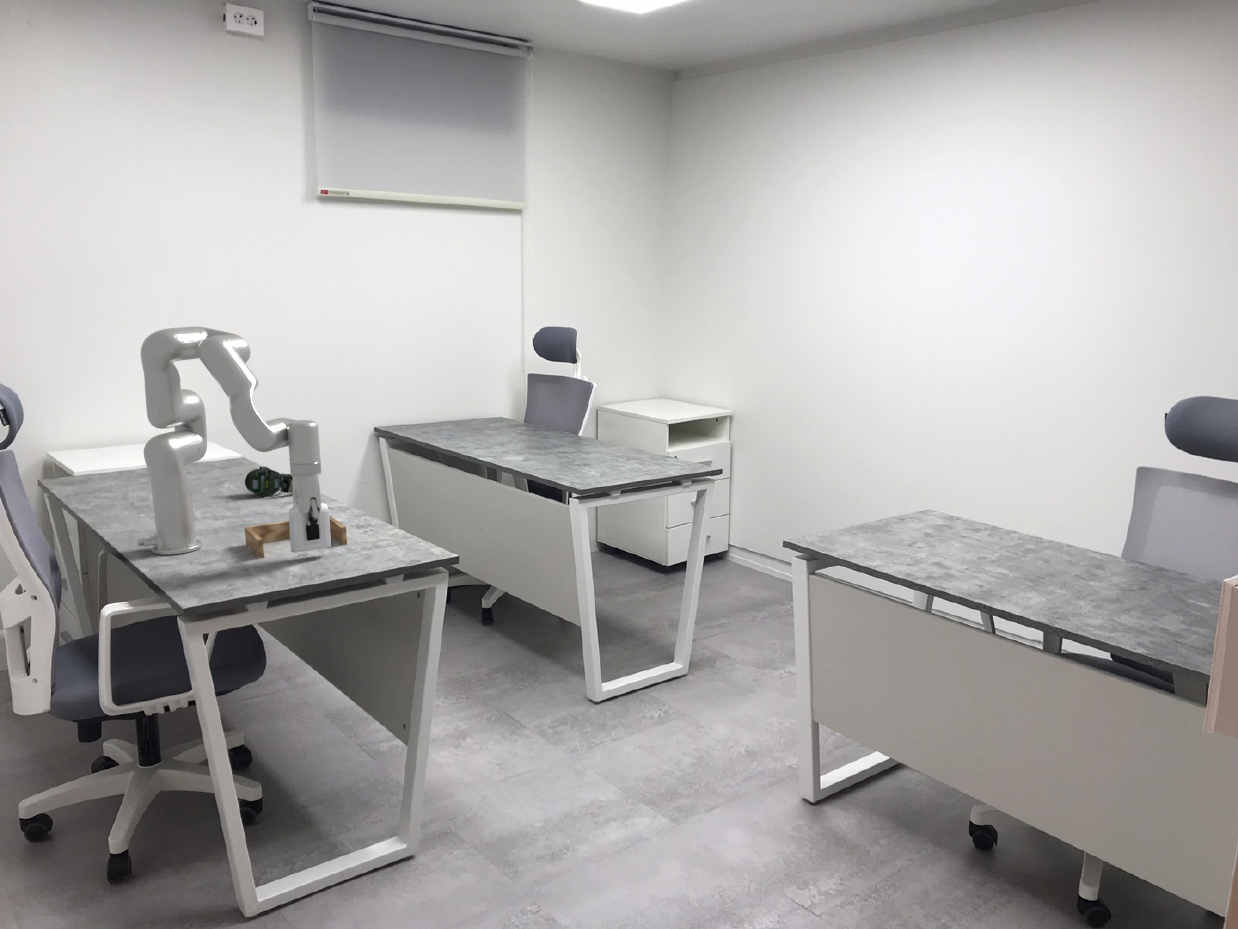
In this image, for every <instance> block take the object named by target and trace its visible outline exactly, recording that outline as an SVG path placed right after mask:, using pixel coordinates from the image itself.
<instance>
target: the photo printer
mask: <svg viewBox="0 0 1238 929" xmlns="http://www.w3.org/2000/svg"><path fill="white" fill-rule="evenodd" d="M317 509H318V506H317ZM308 513H312V511H308ZM329 515H330V511H329V506H328V504H327V503H323V502H321V511H320V512H319V517H318V518H319V519H318V520H319V534H320V538H319V539H316V540H310V541H308V540H307V536H306V525H307V520H306V513H305V515H302V514H301V513H300V512H299V508H298V506H294V507H293V506H292V507H290V508H289V511H288V521H289V528H290V539H289V541H290V542H289V543H290V552H292V553H295V554H296V553H301V552H306V551H307V552H308V551H313V550H314V551H315V550H321V549H329V548H331V546H332V544H331V536H330V521H329ZM310 517H312V515H310V516H309V518H310Z"/></svg>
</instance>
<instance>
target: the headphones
mask: <svg viewBox="0 0 1238 929" xmlns="http://www.w3.org/2000/svg"><path fill="white" fill-rule="evenodd" d="M244 486H245V488H246V489H247V490H248V492H251V493H253V494H255V495H258V496H262V498H267V497H268V496H270V498H272V497H277V496H279V495H281V494H282V493H286V494H288V493H293V476H291V473H280V472H278V471H276V470H273V469H272V468H271V469H270V468H269V467H267V466H259V468H255V469H253V470H251V471H249V472H248V473H246V476H245V479H244ZM279 490H280V492H278V491H279ZM277 492H278V493H277ZM276 493H277V494H276ZM274 494H275V495H274Z"/></svg>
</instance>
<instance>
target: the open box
mask: <svg viewBox="0 0 1238 929" xmlns="http://www.w3.org/2000/svg"><path fill="white" fill-rule="evenodd" d="M329 521H330V535H331V536H332V537H331V536H330V537H331V538H332V539H334V540H335V541H337V542H338V541H339V542H340V545H342V546H346V545H348V536H347V526H345V524H343V523H342V522H340V521H338V520H337V519H336V518H334V517H332V516H331V515H330V514H329ZM244 537H245V545H246V546H247V547H248V548H249V550H250V551H251V552H252V553H254V555H256V557H257V558H259V559H264V558H265V552H264V544H268V543H274V542H280V541H281V542H282V541H287V540H290V528H289V520H286V521H278V522H270V523H265V524H259V525H257V524H256V525H250V526H244ZM339 542H338V543H339Z"/></svg>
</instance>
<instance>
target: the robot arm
mask: <svg viewBox="0 0 1238 929" xmlns="http://www.w3.org/2000/svg"><path fill="white" fill-rule="evenodd" d="M250 357H251V348H250V345H249V343H248V342H247V340H246V339H245V338H243V337H242V336H241V335H239V334H236V333H232V332H229V331H223V330H220V329H219V330H218V329H214V328H209V327H204V326H185V327H171V328H170V327H169V328H164V329H159V330H157V331H155V332H152V333H150V334H149V335H147V337H146V338H145V339H144V340H143V342H142V344H141V348H140V360H141V365H142V366H141V367H142V371H143V376H144V391H145V392H144V393H145V394H144V395H145V406H146V408H145V409H146V416H147V419H148V422H149V424H150V425H151V426H152V427H154V428H156V429H160V430H161V429H163V430H165V429H172V428H174V431H169V432H165V433H160V434H157V435H155V436H153V437H151V438H150V439H149V440H147V442H146V443H145V445H144V447H143V459H144V462H145V464H146V467H147V471H148V474H149V481H150V488H151V495H152V503H153V504H152V505H153V513H154V515H153V516H154V523H155V530H156V531H155V532H153V535H150V537H146V538H145V537H143V538H142V537H141V538H137V545H138V547H142V546H143V547H150V546H151V548H150V549H151V552H152V553H153V554H155V555H163V556H165V555H169V556H171V555H180V554H186V553H190V552H195V551H197V550H199V549H201V548H202V547H203V541H202V539H198V538H197V537H196V527H195V519H194V518H195V516H194V507H193V506H194V505H193V495H192V489H191V488H192V487H191V486H192V485H191V481H190V478H189V476H188V474H187V472H186V470H185V469H184V466H187V465H190V464H193V463H196V462H198V461H200V460H201V459H203V457H204V456H205V455H206V452H207V449H208V434H207V430H208V429H207V417H206V408H205V404H204V401H203V399H202V397H201V396H200V395H199V394H198V393H197V392H195V391H193V390H192V389H186V388H182V387H181V376H180V373H179V370H178V368H177V367H176V365H175V364H174V363H175V362H180V361H190V360H198V359H199V360H200V362H201V363H202V365H204V367H205V368H206V370H207V371H208V372H209V373H210V375H211V376H212V378H214V380H215V382H217V384H218V385H219V387H220V388H221V389H222V391H223V392H224V393H225V396H226V397H227V398H228V400H229V404H228V405H229V411H230V412H229V413H230V417H231V420H232V422H233V423H232V424H233V425H234V427H235V428H236V430H237V431H238V433H239V434H240V435H241V437H242V438H243V439H244V441H245V442H246V443H247V444H248V446H250V447H251V448H252V449H253V450H255V451H257V452H260V453H267V452H272V451H274V450H277V449H281V448H285V447H288V457H289V458H288V459H289V469H290V471H289V472H290V474H291V476H293V492H292V507H294V506H298V508H299V512H300V513H301V514H302V515H305V513H306V520H307V525H306V536H307V540H308V541H310V540H316V539H319V538H320V534H319V520H318V519H319V518H318V517H319V512H320V511H321V503H322V499H321V498H322V497H321V488H320V486H321V485H320V480H319V479H320V478H319V475H321V474H322V463H321V451H320V450H321V449H320V448H321V446H320V434H319V425H318V422H316V421H315V420H312V419H311V420H310V419H303V420H302V419H300V420H299V419H298V420H296V419H294V418H293V419H292V418H287V417H278V418H275V419H274V418H273V419H270V420H266V421H264V419H263V418H262V417H261V415H260V414H259V412H258V411H257V410H256V408H255V406H254V403H253V393H254V392H255V391H256V389H257V388H258V386H259V380H258V378H257V376H256V375H255V374H254V372H253V371H252V370H251V368H250V367H249V366H248V365H247V362H248V361H249V360H250ZM317 506H318V509H317ZM308 511H312V513H308ZM310 515H312V517H310V518H309V516H310Z"/></svg>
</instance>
